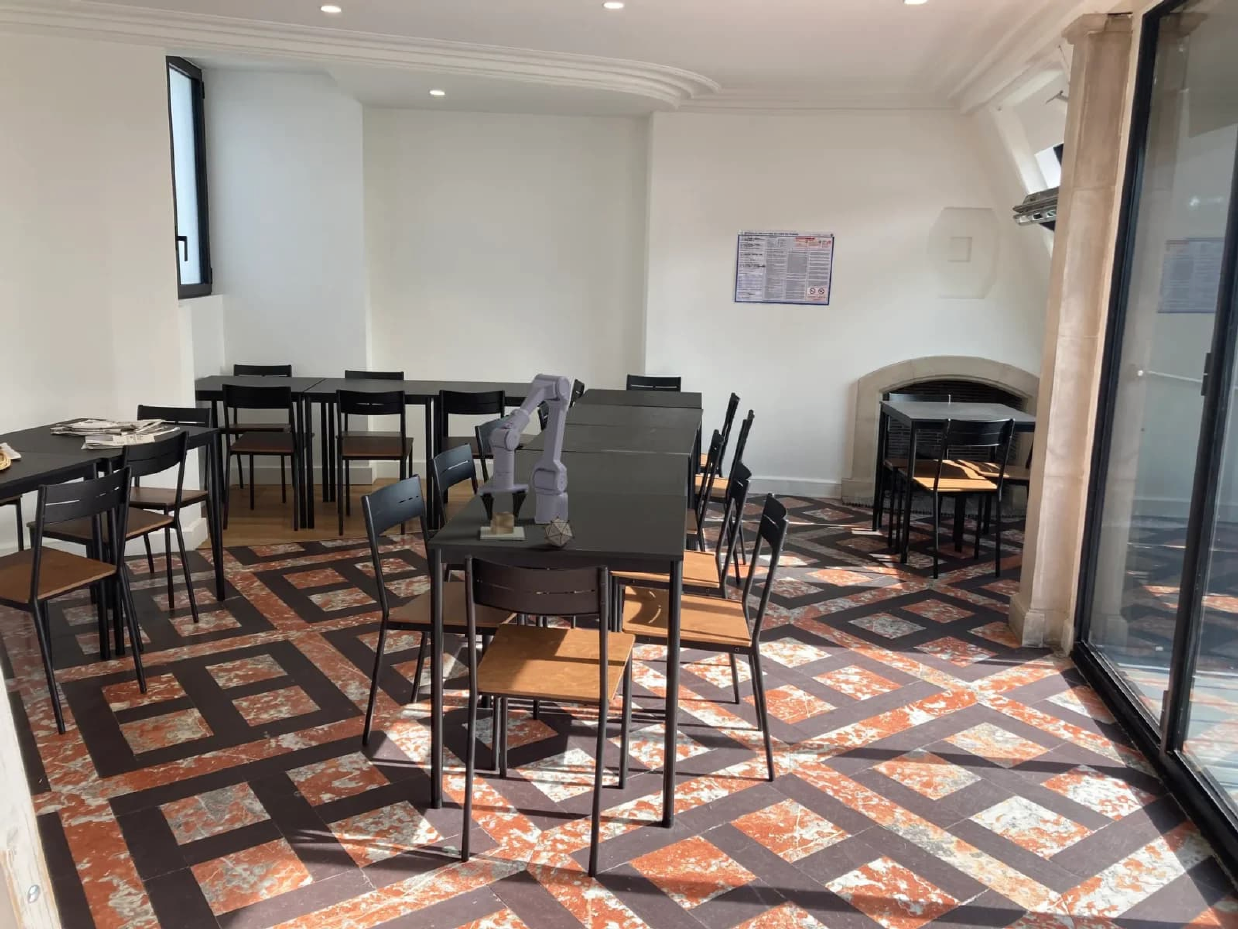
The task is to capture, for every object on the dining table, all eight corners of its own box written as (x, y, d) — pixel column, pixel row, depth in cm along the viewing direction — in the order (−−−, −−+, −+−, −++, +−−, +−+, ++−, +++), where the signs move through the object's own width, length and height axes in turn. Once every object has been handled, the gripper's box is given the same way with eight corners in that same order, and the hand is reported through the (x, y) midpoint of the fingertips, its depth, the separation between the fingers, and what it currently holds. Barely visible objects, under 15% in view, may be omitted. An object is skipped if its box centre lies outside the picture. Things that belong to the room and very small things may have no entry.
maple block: (507, 528, 269) (507, 511, 269) (513, 533, 265) (513, 515, 264) (490, 530, 267) (490, 513, 266) (496, 534, 263) (497, 517, 262)
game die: (554, 558, 259) (551, 524, 264) (581, 550, 257) (578, 516, 261) (538, 548, 252) (535, 514, 256) (566, 541, 249) (563, 506, 253)
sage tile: (522, 530, 272) (522, 527, 272) (524, 540, 262) (524, 537, 261) (480, 530, 271) (480, 526, 270) (480, 540, 260) (480, 536, 260)
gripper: (522, 466, 270) (521, 513, 272) (473, 469, 263) (473, 517, 265) (531, 471, 263) (530, 518, 266) (482, 474, 257) (481, 523, 259)
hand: (502, 518), depth 265 cm, fingers open, 7 cm apart
